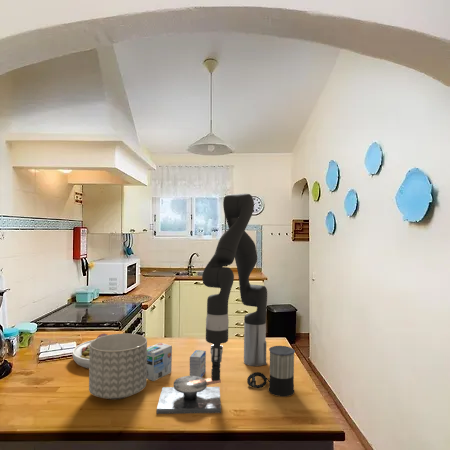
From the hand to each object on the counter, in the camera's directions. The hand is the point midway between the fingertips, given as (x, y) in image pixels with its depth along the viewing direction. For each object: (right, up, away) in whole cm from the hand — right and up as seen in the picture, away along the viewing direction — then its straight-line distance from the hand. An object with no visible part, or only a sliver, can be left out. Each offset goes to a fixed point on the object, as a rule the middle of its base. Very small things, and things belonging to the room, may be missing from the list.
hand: (216, 379), depth 120 cm
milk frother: (+19, -8, +10) cm, 24 cm away
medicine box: (-8, -8, +21) cm, 24 cm away
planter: (-34, -7, +5) cm, 35 cm away
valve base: (-9, -8, 0) cm, 11 cm away
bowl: (-48, -8, +38) cm, 62 cm away
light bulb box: (-24, -8, +21) cm, 33 cm away
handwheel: (-6, -2, +1) cm, 7 cm away
